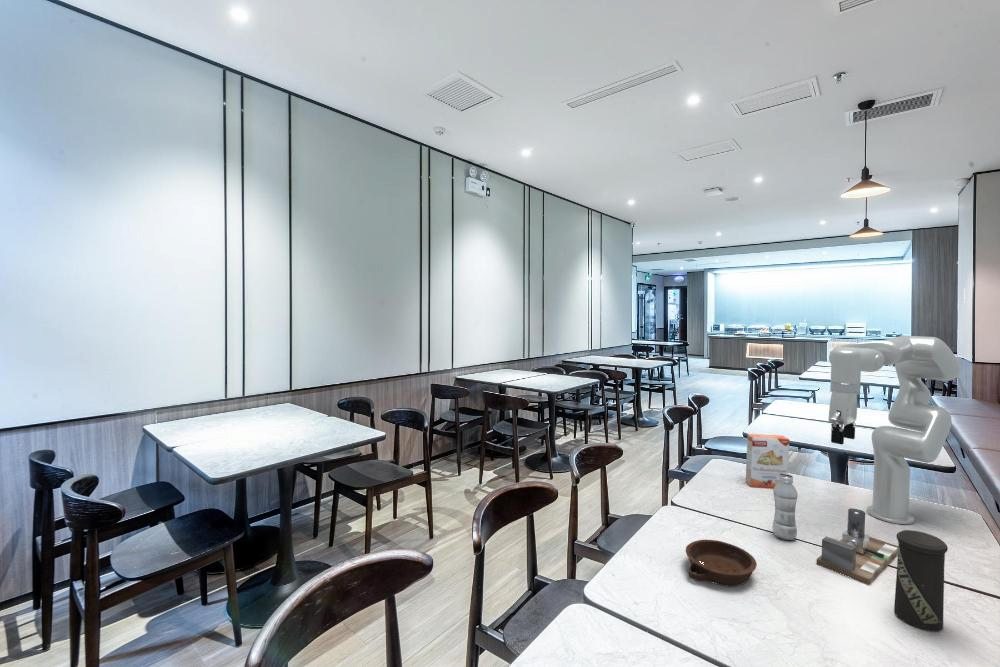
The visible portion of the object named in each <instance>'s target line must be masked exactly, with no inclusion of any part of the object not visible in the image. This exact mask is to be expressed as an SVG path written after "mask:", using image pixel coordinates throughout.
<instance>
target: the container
mask: <svg viewBox="0 0 1000 667" xmlns="http://www.w3.org/2000/svg"><path fill="white" fill-rule="evenodd" d="M895 536H896V540H897V541H898V542H897V543H898V544H897V546H898V555H897V559H896V560H897V562H896V563H897V564H896V565H897V566H896V575H895V576H896V578H895V591H894V592H895V593H894V602H893V604H894V606H893V609H894V610H893V611H894V614H895V616H896V617H897V618H899V619H900V621H902V622H904V623H906V624H907V625H908V624H909V625H910V626H911V627H915V628H918V629H921V630H925V631H929V632H930V631H931V632H938V631H941V630H942V629H944V602H945V601H944V600H945V599H944V595H945V594H944V593H945V562H946V561H945V558H946V555H945V554H946V553H947V552H948V549H949V547H948V545H947V544H946V543H945V542H944V541H943V540H942V539H941V538H939V537H937V536H935V535H932V534H929V533H927V532H922V531H918V530H913V529H911V530H909V529H905V530H901V531H899V532H897V533H896V535H895Z"/></svg>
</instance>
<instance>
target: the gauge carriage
mask: <svg viewBox="0 0 1000 667" xmlns="http://www.w3.org/2000/svg"><path fill="white" fill-rule="evenodd" d="M866 514H867V512H865V511H864V510H862V509H858V508H853V507H852V508H851V507H850V508H848V509H847V529H846V530H845V531H844V532H843V533H842V538H841V539H842V542H844V543H847V544H850V545H853V546H856V552H858V553H861V554H863V553H865V552H869V553H872V554H875V555H878V556H881V557H884V554H882V553H879V552H876V551H873V550H870V549H869V537H870V535H869V534H866V532H865V531H866Z"/></svg>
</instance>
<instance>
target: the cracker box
mask: <svg viewBox="0 0 1000 667" xmlns="http://www.w3.org/2000/svg"><path fill="white" fill-rule="evenodd" d="M746 442H747V443H746V462H745V464H746V465H745V483H747V485H748V486H750V488H763V489H764V488H765V489H766V488H767V489H774V487H775V486H776V485H777V484H778V483H779V482H780V481H779V474H788V473H789V456H790V439H789V438H788V437H786V436H785V435H783V434H782V435H780V434H778V435H777V434H761V433H747V440H746ZM788 475H789V474H788Z"/></svg>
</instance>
